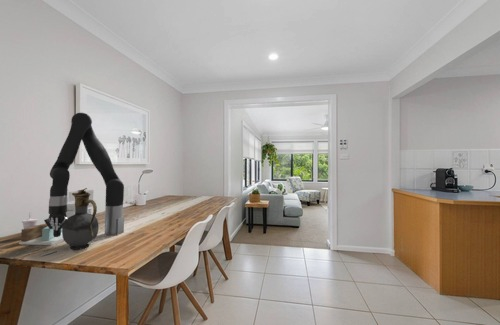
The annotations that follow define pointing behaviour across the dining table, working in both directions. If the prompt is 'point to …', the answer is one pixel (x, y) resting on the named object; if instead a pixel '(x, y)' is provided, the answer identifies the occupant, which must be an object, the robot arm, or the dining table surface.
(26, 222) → the smoothie
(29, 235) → the arm
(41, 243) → the board
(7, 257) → the dining table surface
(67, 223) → the pitcher
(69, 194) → the architectural model
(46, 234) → the arm
